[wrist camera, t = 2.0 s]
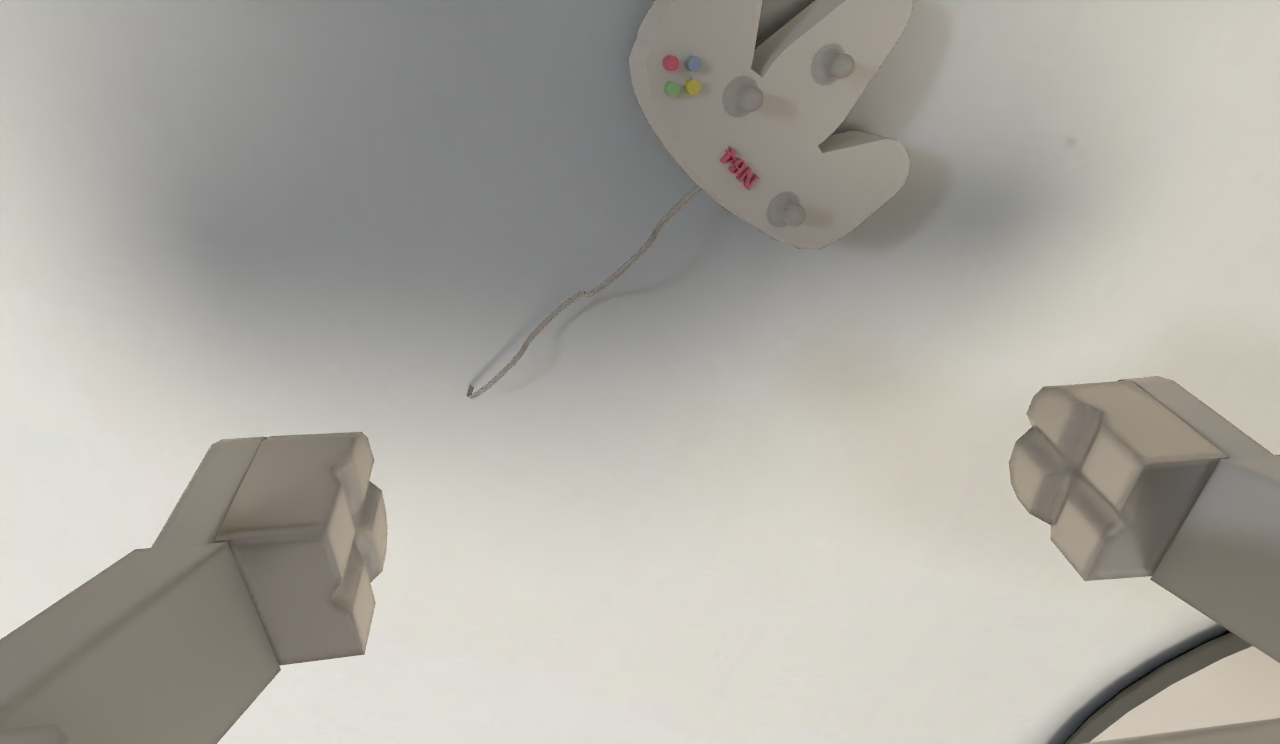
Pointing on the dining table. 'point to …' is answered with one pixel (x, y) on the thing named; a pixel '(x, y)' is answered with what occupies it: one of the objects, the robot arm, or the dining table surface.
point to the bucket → (1192, 694)
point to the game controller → (767, 115)
